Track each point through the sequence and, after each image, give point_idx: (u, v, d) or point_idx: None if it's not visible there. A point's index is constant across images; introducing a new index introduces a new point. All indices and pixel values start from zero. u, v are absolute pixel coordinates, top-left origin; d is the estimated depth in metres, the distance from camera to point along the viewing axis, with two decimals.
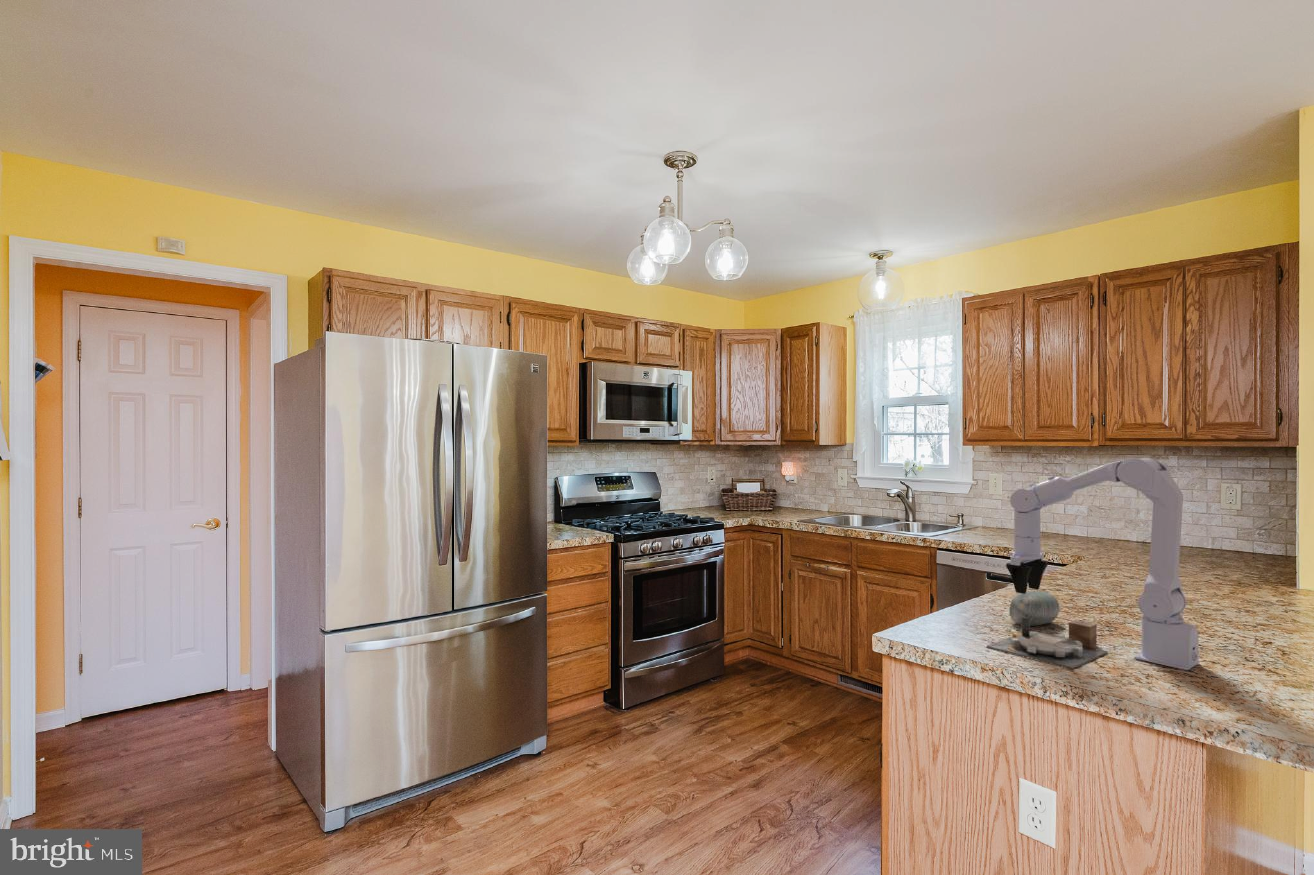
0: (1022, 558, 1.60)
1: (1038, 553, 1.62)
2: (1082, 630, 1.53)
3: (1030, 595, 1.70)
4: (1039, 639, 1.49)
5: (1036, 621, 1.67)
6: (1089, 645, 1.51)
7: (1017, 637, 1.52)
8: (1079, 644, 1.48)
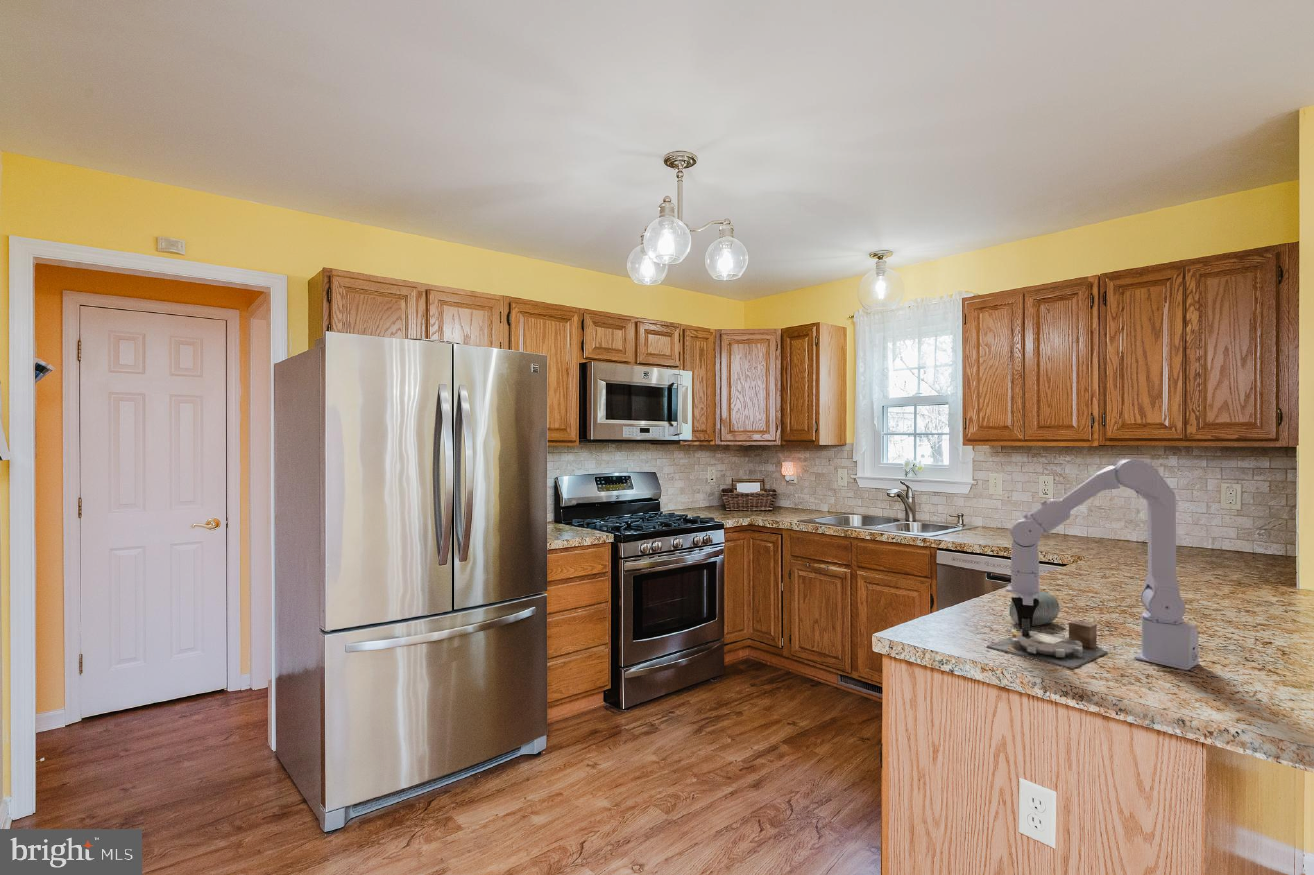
0: (1033, 597, 1.49)
1: (1038, 589, 1.53)
2: (1082, 630, 1.53)
3: None
4: (1039, 639, 1.49)
5: (1036, 622, 1.67)
6: (1089, 645, 1.51)
7: (1017, 637, 1.52)
8: (1079, 644, 1.48)
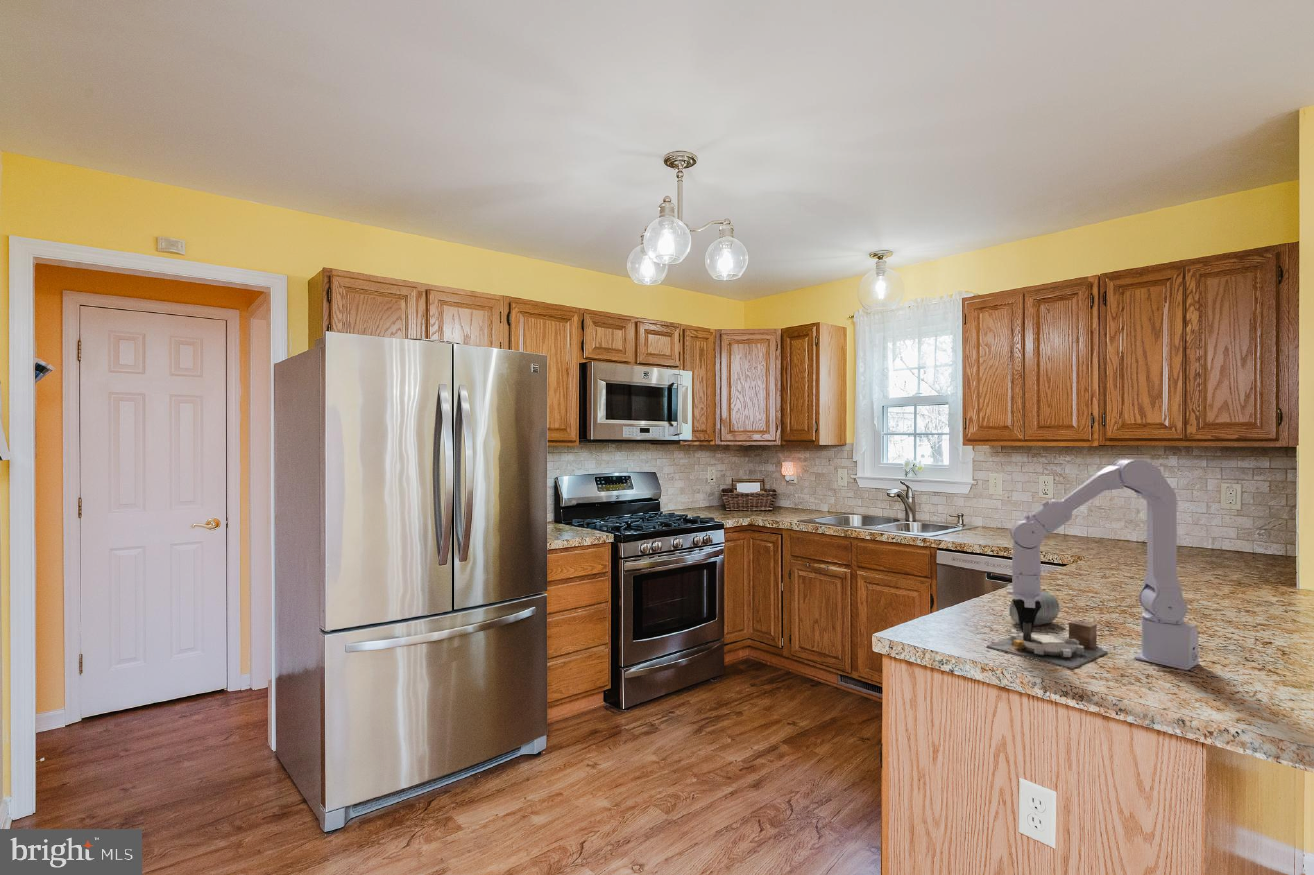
0: (1035, 599, 1.47)
1: (1040, 591, 1.51)
2: (1082, 630, 1.53)
3: None
4: (1048, 641, 1.48)
5: (1036, 621, 1.67)
6: (1089, 645, 1.51)
7: (1034, 644, 1.46)
8: None
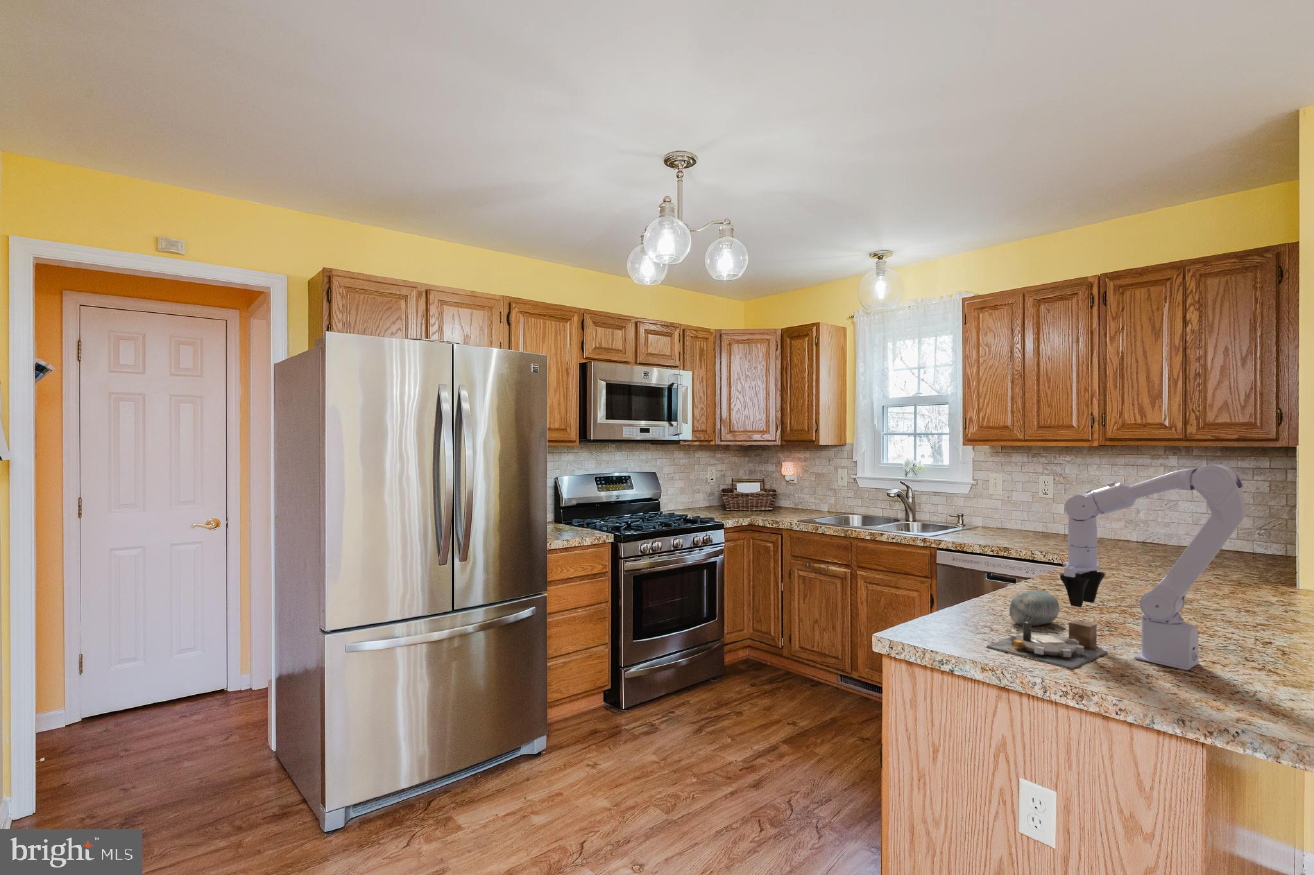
0: (1077, 569, 1.50)
1: (1094, 564, 1.52)
2: (1082, 630, 1.53)
3: (1030, 595, 1.70)
4: (1048, 641, 1.48)
5: (1036, 622, 1.67)
6: (1089, 645, 1.51)
7: (1034, 644, 1.46)
8: None
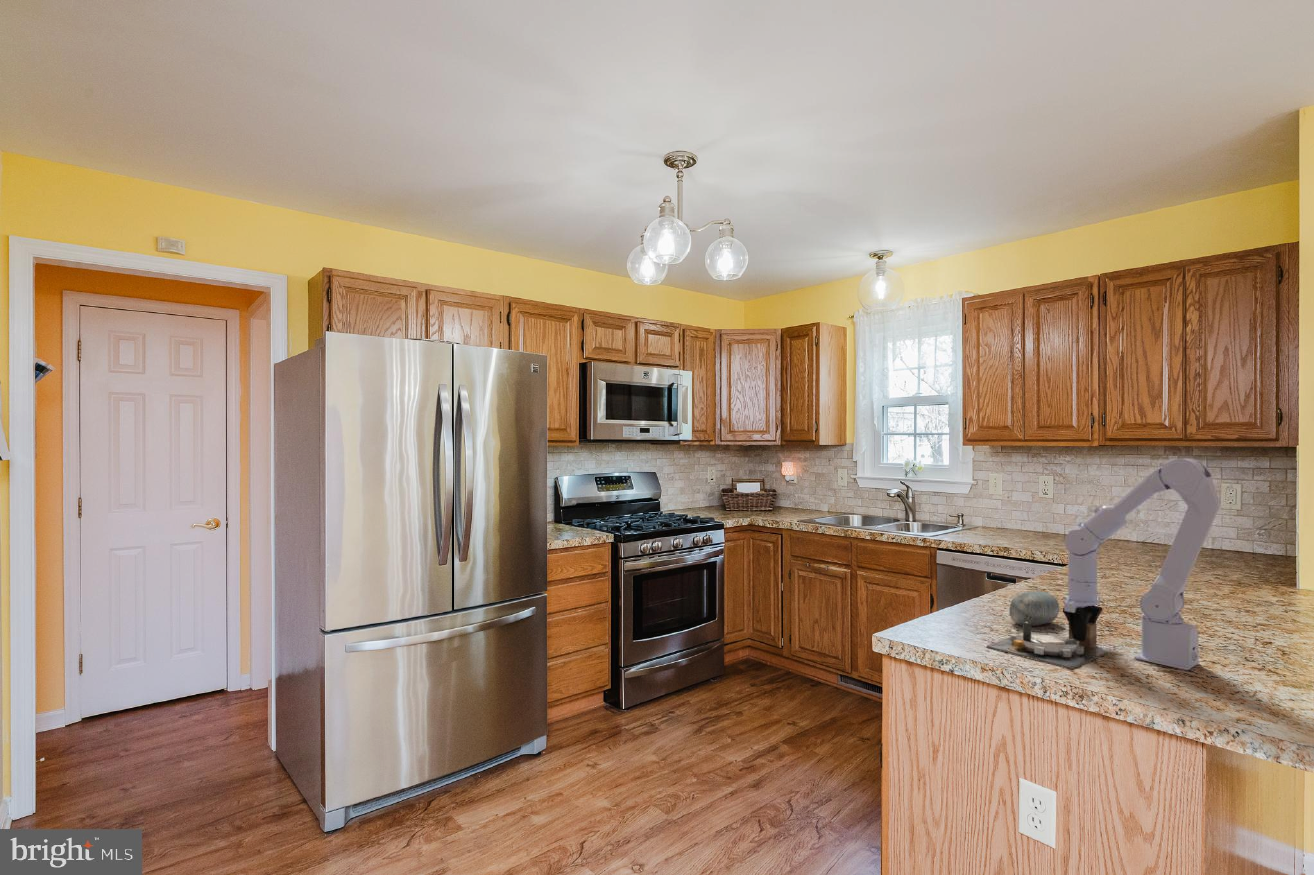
0: (1077, 604, 1.50)
1: (1095, 599, 1.52)
2: None
3: (1030, 595, 1.70)
4: (1048, 641, 1.48)
5: (1036, 622, 1.67)
6: (1089, 645, 1.51)
7: (1034, 644, 1.46)
8: None
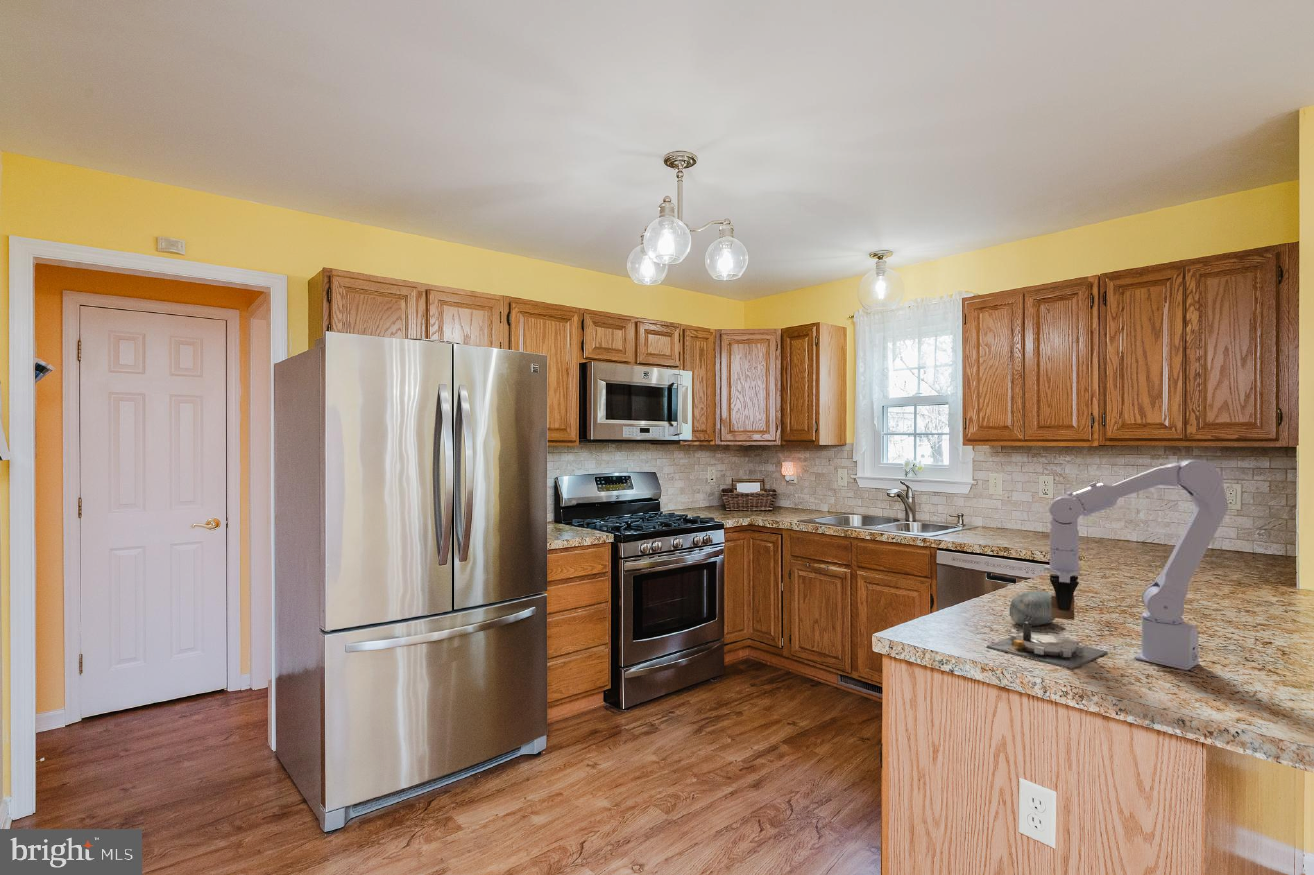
0: (1070, 574, 1.47)
1: (1078, 567, 1.50)
2: None
3: (1030, 595, 1.70)
4: (1048, 641, 1.48)
5: (1036, 622, 1.67)
6: (1073, 616, 1.50)
7: (1034, 644, 1.46)
8: None
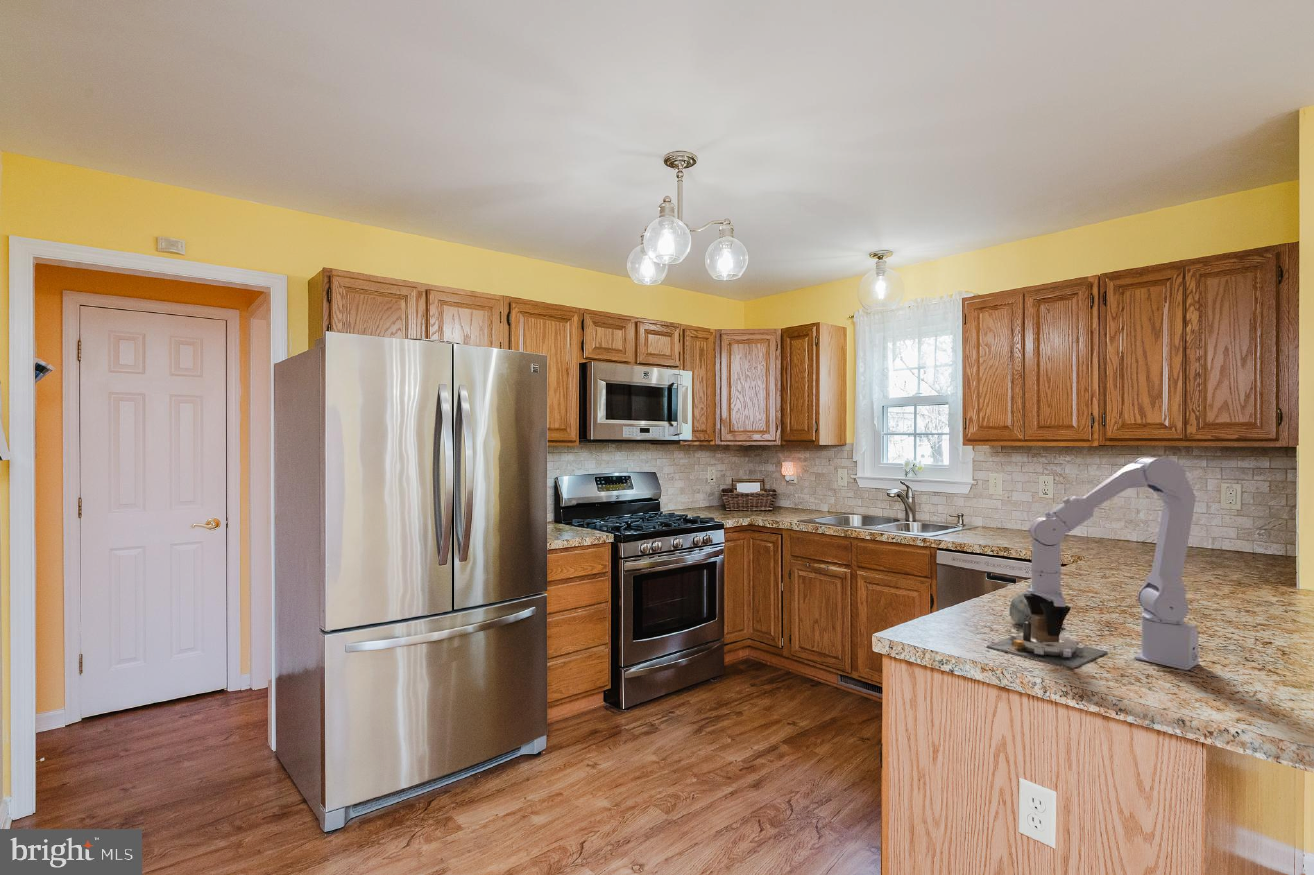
0: None
1: None
2: None
3: None
4: (1048, 641, 1.48)
5: None
6: (1058, 638, 1.48)
7: (1034, 644, 1.46)
8: None
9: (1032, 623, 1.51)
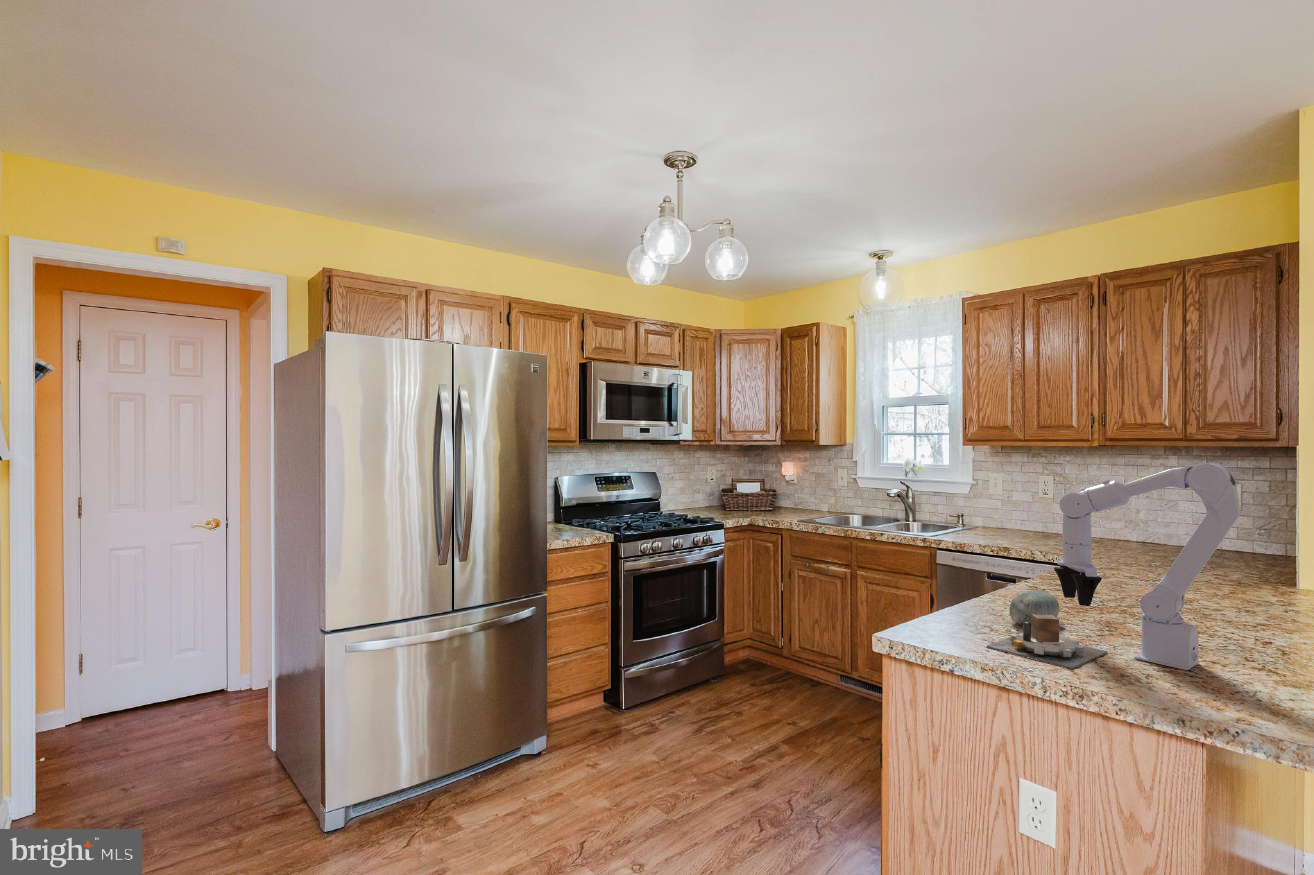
0: (1094, 568, 1.49)
1: None
2: (1051, 624, 1.48)
3: (1030, 595, 1.70)
4: (1048, 641, 1.48)
5: None
6: (1058, 638, 1.48)
7: (1034, 644, 1.46)
8: None
9: (1032, 623, 1.51)
